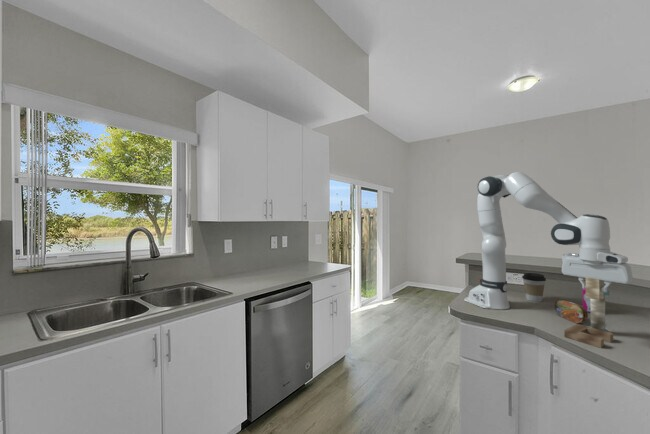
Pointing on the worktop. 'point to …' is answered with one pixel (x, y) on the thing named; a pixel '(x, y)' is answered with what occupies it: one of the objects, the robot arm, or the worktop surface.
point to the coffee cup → (534, 286)
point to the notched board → (588, 335)
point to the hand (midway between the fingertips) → (594, 290)
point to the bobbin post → (598, 313)
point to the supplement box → (586, 302)
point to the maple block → (594, 288)
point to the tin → (571, 311)
